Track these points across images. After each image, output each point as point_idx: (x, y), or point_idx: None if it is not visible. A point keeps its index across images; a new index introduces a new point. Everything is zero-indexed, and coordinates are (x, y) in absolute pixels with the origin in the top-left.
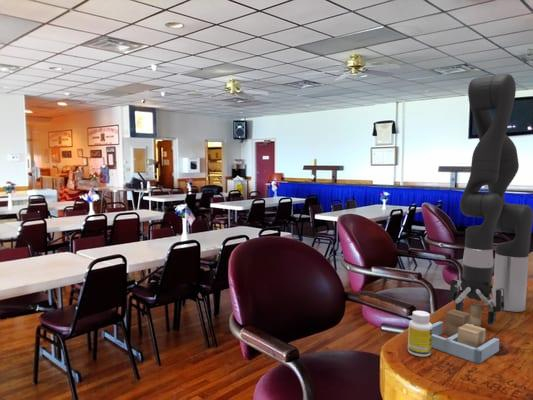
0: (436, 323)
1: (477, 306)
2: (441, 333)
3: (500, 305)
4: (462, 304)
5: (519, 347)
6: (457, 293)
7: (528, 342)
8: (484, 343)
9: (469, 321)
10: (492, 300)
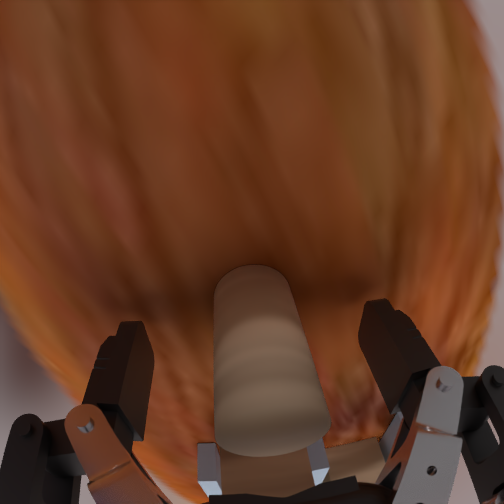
0: (210, 490)
1: (301, 443)
2: (216, 448)
3: (488, 443)
4: (127, 407)
5: (467, 343)
6: (36, 465)
7: (498, 275)
8: (383, 460)
9: (309, 465)
10: (453, 449)
